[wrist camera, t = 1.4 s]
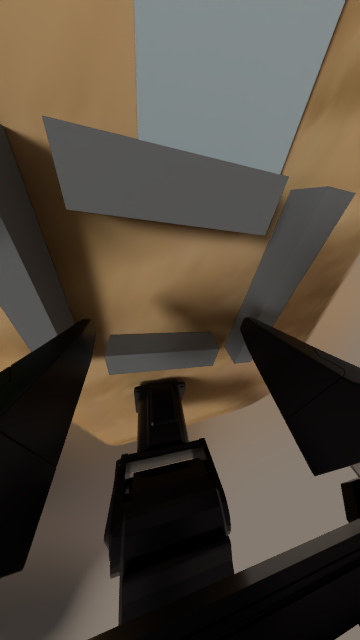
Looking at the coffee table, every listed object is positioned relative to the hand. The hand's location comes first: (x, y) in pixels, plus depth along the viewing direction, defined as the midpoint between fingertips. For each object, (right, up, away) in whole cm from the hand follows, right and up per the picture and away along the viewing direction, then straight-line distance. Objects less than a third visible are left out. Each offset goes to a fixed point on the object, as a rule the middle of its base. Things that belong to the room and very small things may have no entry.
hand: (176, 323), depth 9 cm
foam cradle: (-1, +3, +3) cm, 4 cm away
